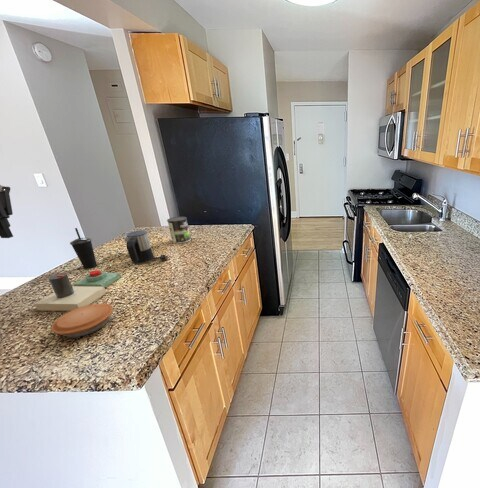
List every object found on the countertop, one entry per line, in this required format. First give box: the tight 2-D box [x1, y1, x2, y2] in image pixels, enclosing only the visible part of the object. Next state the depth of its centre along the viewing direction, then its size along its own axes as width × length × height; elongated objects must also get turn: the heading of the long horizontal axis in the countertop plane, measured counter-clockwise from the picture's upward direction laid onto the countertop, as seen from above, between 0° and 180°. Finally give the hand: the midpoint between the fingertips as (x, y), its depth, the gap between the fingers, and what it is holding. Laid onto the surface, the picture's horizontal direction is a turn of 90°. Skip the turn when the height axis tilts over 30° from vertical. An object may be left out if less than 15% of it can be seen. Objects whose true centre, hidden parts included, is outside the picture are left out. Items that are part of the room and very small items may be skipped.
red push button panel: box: [72, 270, 122, 289], centre depth 113 cm, size 12×10×4 cm
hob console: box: [33, 285, 107, 312], centre depth 100 cm, size 16×12×3 cm
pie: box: [50, 303, 114, 338], centre depth 86 cm, size 15×16×5 cm
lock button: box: [88, 269, 101, 277], centre depth 112 cm, size 4×4×2 cm
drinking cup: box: [69, 227, 98, 270], centre depth 124 cm, size 8×8×20 cm
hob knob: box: [48, 272, 74, 298], centre depth 98 cm, size 5×5×8 cm
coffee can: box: [166, 216, 192, 245], centre depth 158 cm, size 10×10×14 cm
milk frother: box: [125, 229, 169, 264], centre depth 132 cm, size 14×16×15 cm
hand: (7, 237), depth 91 cm, fingers closed
